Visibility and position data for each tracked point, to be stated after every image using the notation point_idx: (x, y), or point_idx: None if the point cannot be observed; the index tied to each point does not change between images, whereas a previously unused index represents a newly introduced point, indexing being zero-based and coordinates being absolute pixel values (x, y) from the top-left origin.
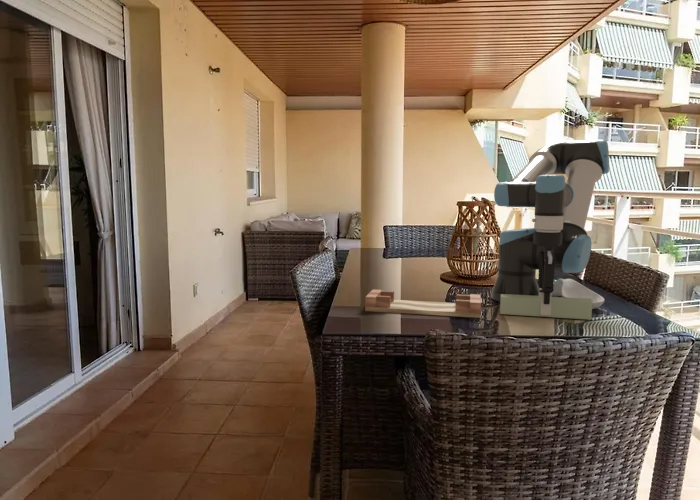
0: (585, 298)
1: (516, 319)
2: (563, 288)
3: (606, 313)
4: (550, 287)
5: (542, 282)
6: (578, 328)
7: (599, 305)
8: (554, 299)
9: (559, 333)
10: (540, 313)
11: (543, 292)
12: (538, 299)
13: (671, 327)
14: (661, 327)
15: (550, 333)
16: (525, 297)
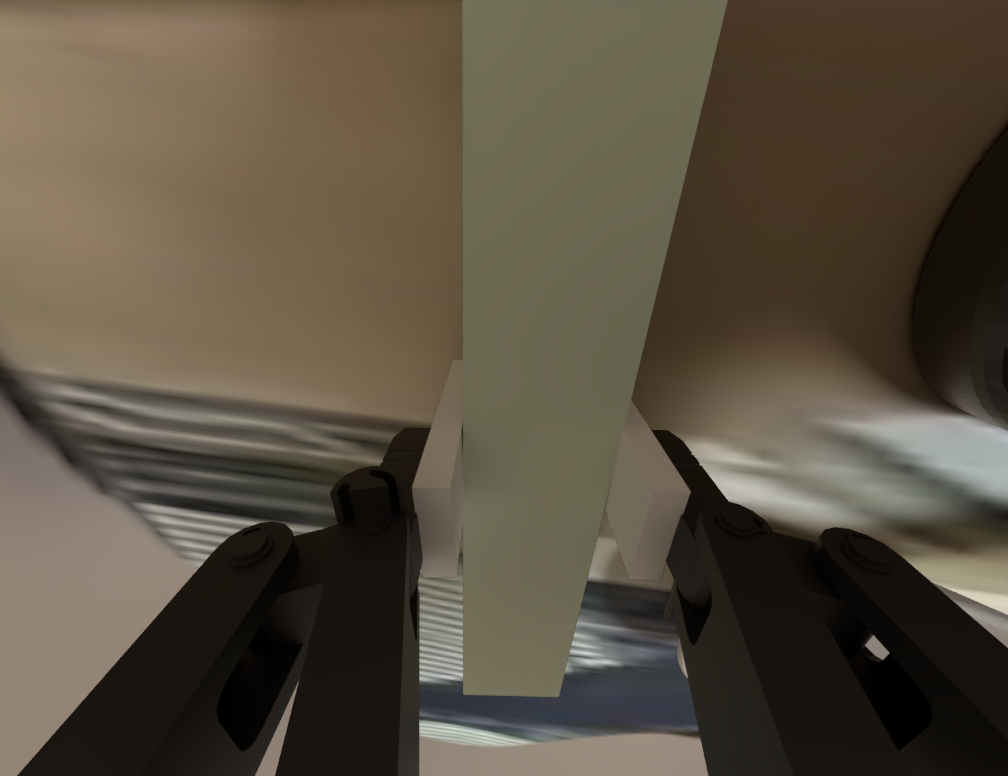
0: (561, 683)
1: (351, 139)
2: (993, 625)
3: (637, 639)
4: (252, 648)
5: (373, 643)
6: (287, 509)
7: None
8: (473, 531)
9: (101, 408)
10: (454, 364)
11: (415, 505)
12: (463, 404)
13: (453, 731)
14: (443, 716)
15: (58, 358)
16: (506, 261)
